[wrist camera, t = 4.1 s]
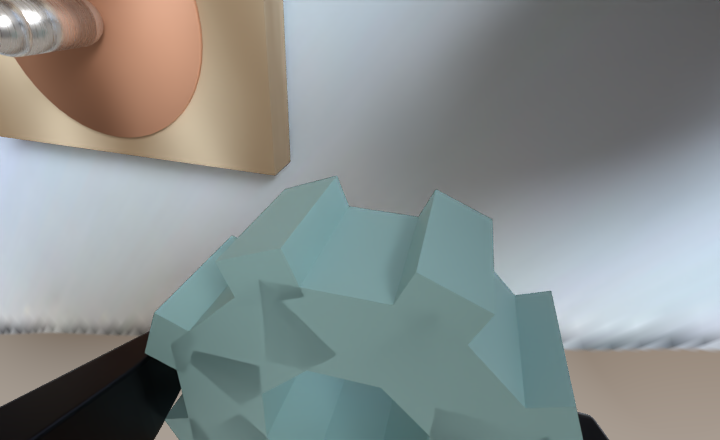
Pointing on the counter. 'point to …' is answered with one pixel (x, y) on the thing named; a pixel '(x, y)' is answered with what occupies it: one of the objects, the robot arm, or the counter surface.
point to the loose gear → (362, 331)
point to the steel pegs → (47, 26)
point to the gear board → (162, 85)
